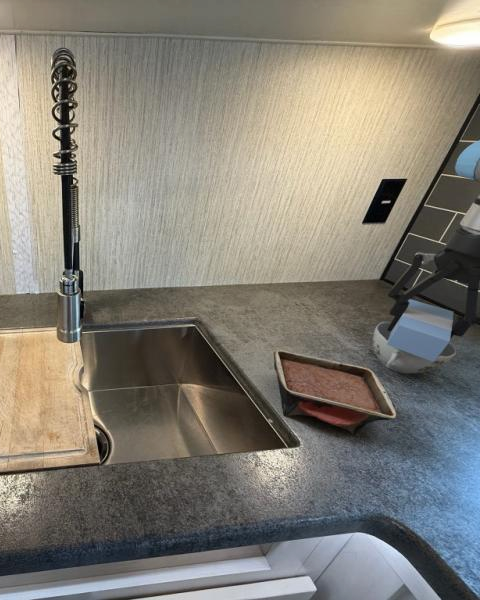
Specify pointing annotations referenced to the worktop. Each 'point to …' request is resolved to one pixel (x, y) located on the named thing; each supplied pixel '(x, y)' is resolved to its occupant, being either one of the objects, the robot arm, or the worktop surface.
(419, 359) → the teacup
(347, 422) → the baking dish
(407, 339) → the tea packet
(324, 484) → the worktop surface
